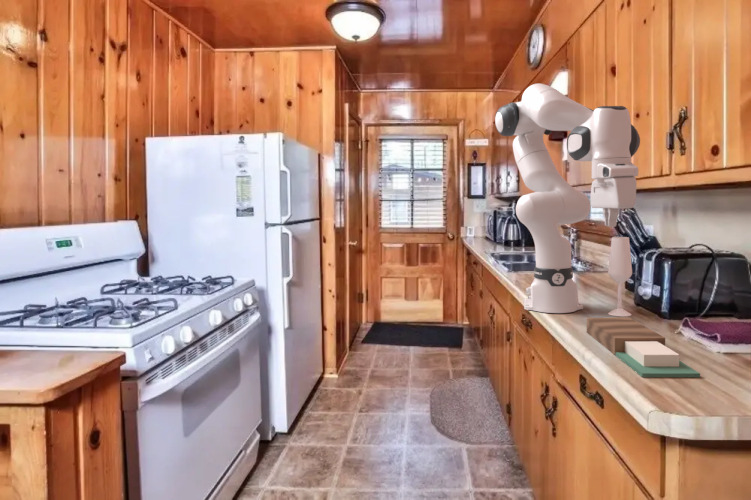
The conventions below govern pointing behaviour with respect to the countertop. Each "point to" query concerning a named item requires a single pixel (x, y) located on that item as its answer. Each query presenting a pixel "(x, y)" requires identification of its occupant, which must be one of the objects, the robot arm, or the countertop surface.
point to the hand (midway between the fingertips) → (610, 226)
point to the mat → (658, 368)
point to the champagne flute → (620, 268)
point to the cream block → (651, 353)
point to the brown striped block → (620, 332)
